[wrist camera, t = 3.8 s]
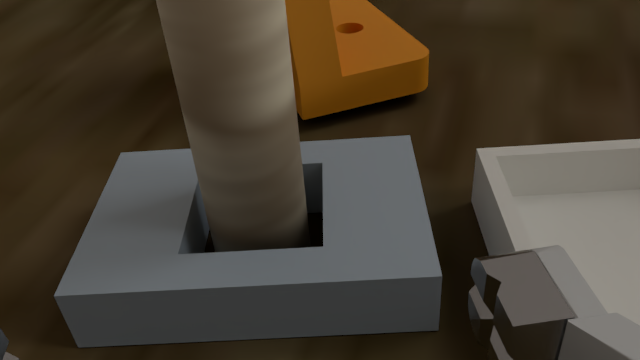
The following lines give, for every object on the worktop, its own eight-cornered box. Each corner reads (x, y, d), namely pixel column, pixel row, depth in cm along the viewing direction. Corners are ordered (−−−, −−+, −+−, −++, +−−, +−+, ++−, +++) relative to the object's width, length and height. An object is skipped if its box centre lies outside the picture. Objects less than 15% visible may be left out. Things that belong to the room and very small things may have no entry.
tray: (698, 188, 25) (719, 134, 23) (861, 383, 17) (908, 322, 16) (471, 200, 25) (476, 148, 23) (535, 397, 18) (549, 339, 16)
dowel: (311, 222, 25) (271, -172, 16) (311, 287, 22) (261, -152, 13) (224, 227, 25) (140, -162, 16) (211, 292, 22) (102, -139, 14)
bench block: (409, 184, 26) (409, 135, 25) (438, 330, 20) (442, 276, 18) (136, 199, 27) (121, 152, 25) (78, 347, 20) (53, 295, 19)
